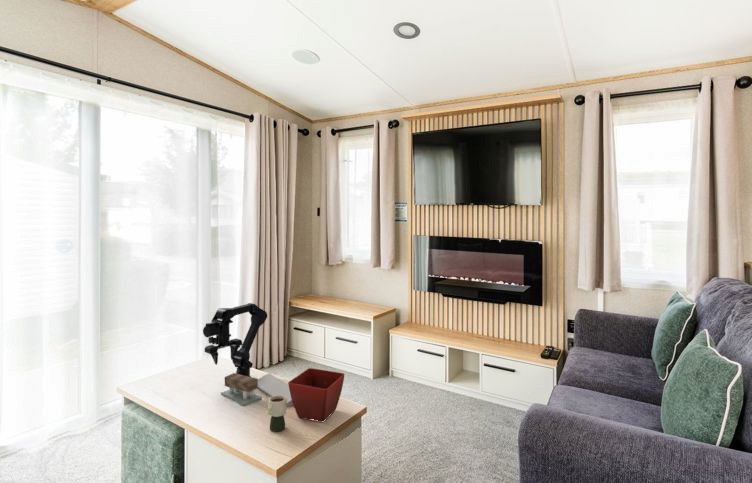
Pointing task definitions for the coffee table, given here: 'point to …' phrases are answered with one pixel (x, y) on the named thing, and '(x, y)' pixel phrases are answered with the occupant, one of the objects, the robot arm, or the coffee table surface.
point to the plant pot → (316, 393)
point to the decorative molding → (275, 387)
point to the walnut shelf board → (241, 382)
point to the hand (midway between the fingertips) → (224, 361)
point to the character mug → (277, 412)
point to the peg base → (241, 396)
